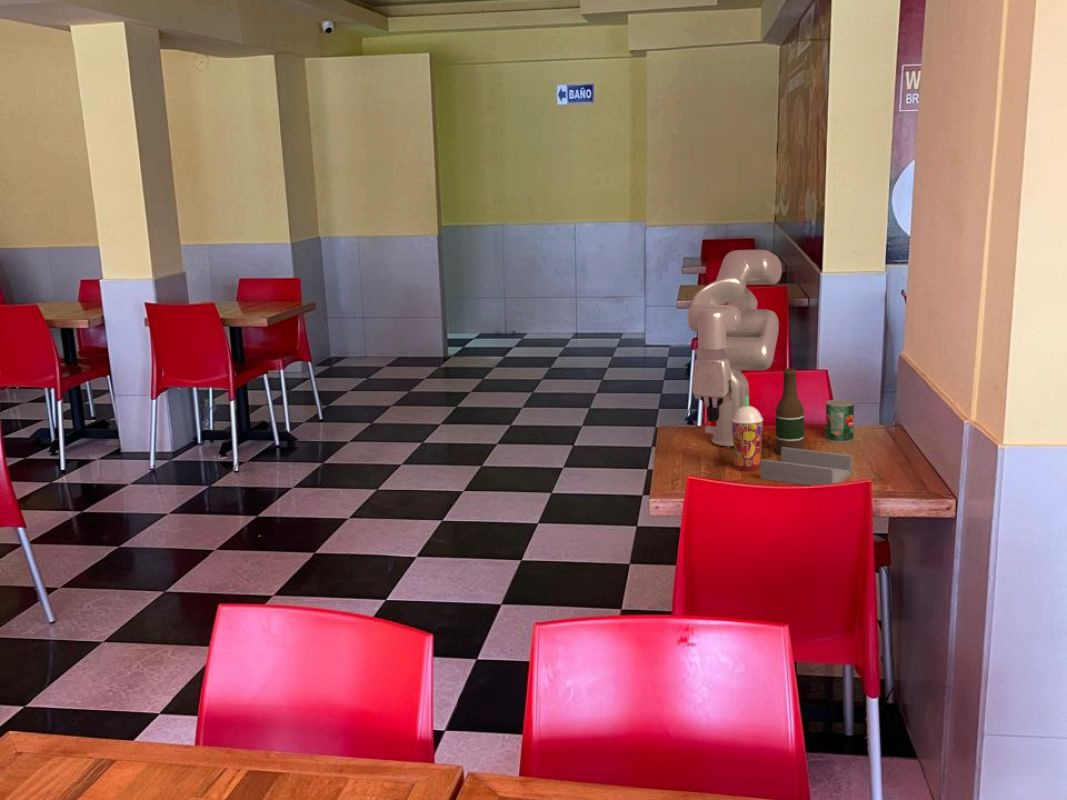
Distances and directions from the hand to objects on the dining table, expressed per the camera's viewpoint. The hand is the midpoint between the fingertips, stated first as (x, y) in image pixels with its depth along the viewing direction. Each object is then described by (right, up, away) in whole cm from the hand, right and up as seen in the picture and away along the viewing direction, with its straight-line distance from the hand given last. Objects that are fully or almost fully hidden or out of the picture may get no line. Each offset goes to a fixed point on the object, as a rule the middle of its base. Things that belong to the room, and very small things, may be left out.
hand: (713, 420), depth 276 cm
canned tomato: (+41, -6, +21) cm, 46 cm away
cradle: (+22, -14, -13) cm, 29 cm away
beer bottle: (+23, -9, +9) cm, 27 cm away
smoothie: (+9, -13, -3) cm, 16 cm away
